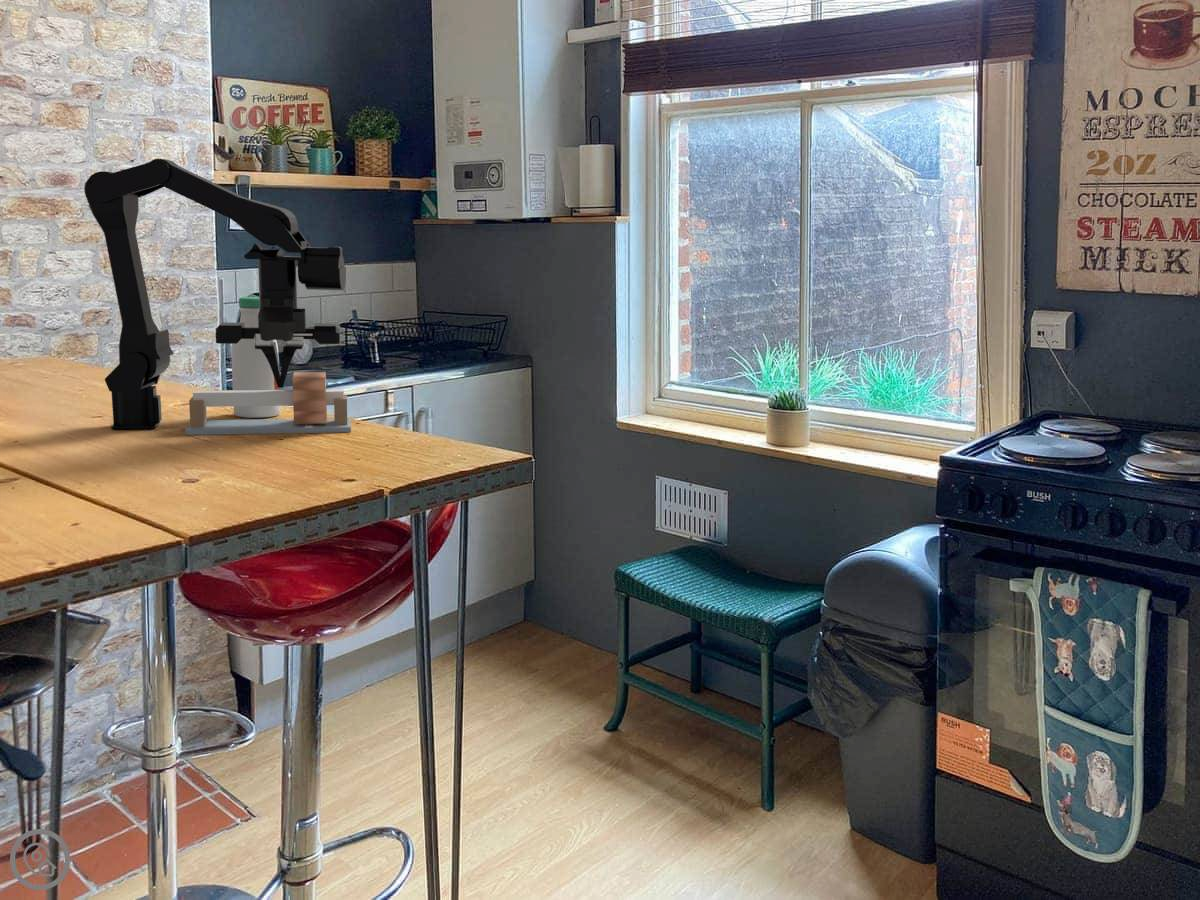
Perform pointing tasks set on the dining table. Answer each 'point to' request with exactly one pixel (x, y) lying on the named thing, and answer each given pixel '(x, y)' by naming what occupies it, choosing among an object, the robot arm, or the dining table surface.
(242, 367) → the milk bottle
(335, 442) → the dining table surface
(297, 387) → the collar
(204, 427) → the rail
